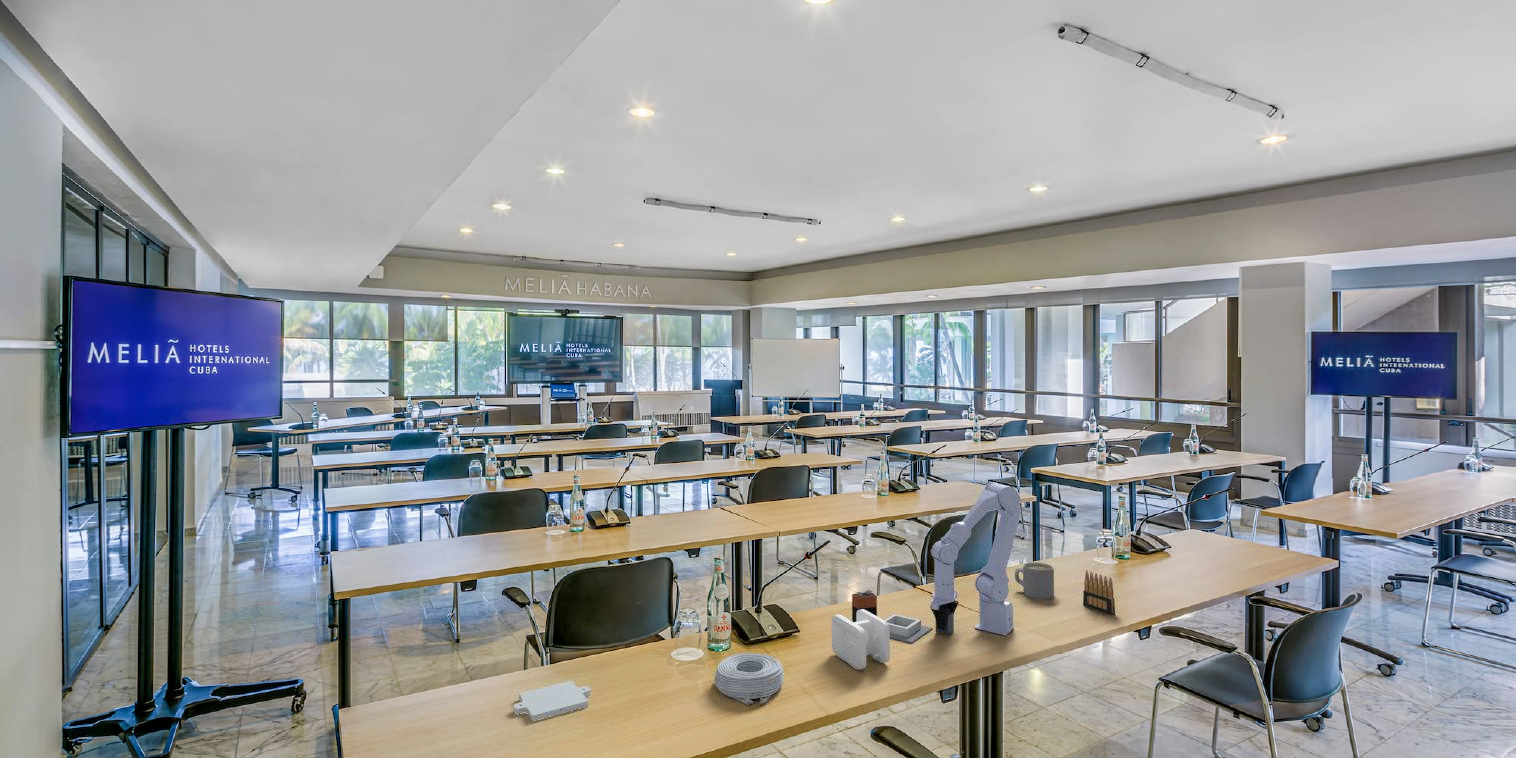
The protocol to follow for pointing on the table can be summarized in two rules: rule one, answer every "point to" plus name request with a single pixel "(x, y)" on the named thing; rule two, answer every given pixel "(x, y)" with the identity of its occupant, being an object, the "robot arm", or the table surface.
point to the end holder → (906, 628)
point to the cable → (749, 677)
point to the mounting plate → (552, 700)
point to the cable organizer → (861, 639)
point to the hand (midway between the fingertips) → (944, 627)
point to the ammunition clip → (1098, 594)
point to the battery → (864, 603)
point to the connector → (947, 625)
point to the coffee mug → (1037, 580)
